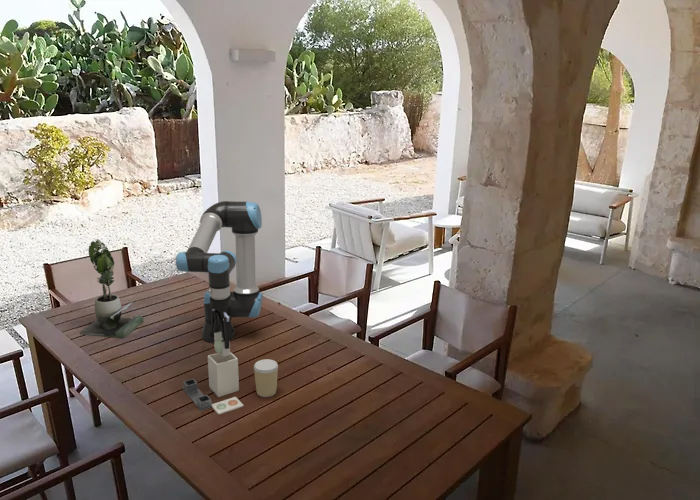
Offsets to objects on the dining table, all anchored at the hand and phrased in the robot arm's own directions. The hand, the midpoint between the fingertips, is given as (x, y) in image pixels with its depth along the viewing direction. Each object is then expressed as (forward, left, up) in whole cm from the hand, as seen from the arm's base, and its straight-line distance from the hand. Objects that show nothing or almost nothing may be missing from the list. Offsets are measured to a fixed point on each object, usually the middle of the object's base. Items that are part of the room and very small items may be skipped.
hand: (222, 351), depth 221 cm
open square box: (0, 0, -17) cm, 17 cm away
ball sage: (0, 0, -1) cm, 1 cm away
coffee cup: (-13, +11, -17) cm, 24 cm away
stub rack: (+11, 0, -17) cm, 20 cm away
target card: (+4, +12, -17) cm, 21 cm away
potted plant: (+22, -80, -17) cm, 85 cm away
